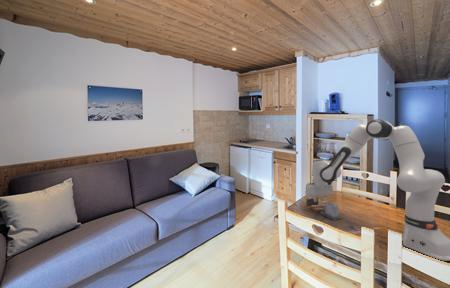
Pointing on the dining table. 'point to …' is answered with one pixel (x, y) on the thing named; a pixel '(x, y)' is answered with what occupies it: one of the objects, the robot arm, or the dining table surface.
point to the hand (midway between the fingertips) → (318, 201)
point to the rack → (311, 202)
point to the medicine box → (331, 209)
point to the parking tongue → (329, 216)
